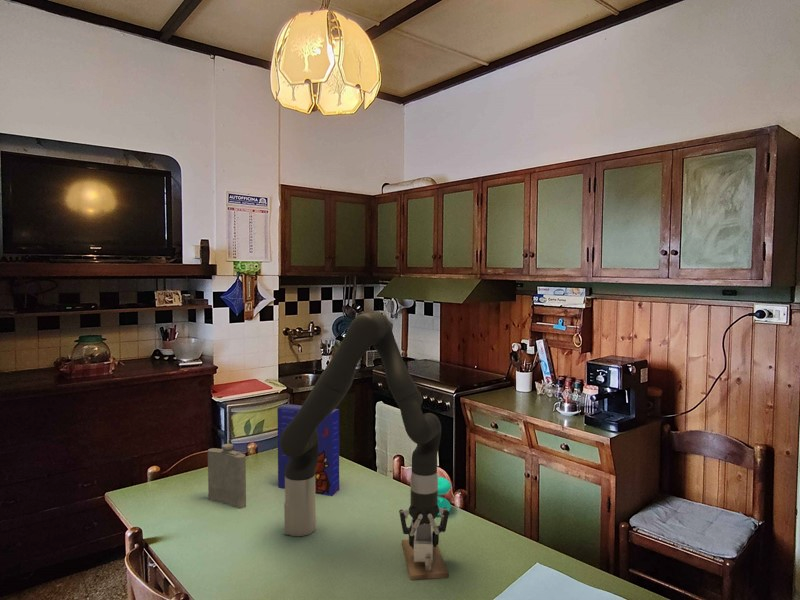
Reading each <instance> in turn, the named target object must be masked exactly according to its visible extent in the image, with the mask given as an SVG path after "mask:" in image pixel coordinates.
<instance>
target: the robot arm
mask: <svg viewBox="0 0 800 600" xmlns="http://www.w3.org/2000/svg"><path fill="white" fill-rule="evenodd" d="M372 346H373V348H374V349H375V350H376V353H378V355H379V357H380V359H381V362H382V364H383V368H384V375H385V379H386V383H387V386H388V389H389V391H390V393H391V395H392V397H393V399H394V401H395V403H396V404H397V406H398V408H399V411H400V417H401V419H402V423H403V425H404V429H405V430H404V431H405V432H406V434H407V436H408V437H409V439H410V440H411V441H412V442H413V443H414V444H416V447H415V449H414V450H413V451H412V455H411V474H410V484H409V486H410V501H409V502H410V506H409V508H408V509H406V510H404V509H402V508H401V509H399V511H398V514H399V519H400V523H401V529H402V533H403V534H404V535H408V539H409V545H410V547H412V549H414V535H415V531H416V529H417V528H418V526H419V525H422V524H430V523H431V525H432V527H433V547H436V545H438V546H439V543H440V540H439V539H440V538H439V537H440V536H439V535H440V533H445V532H446V530H447V524H448V520H449V515H450V511H449V512H448V509H447V508H446V507H444V508H439V507H438V496H439V495H438V477H439V476H438V453H439V449H440V443H441V438H442V424H441V420H440V419H439V417H438V416H437V415H436V414H434V413H431V412H427V413H423V410H422V407H421V406H422V405H423V401H424V399H423V396H422V394H421V392H420V390H419V389H418V387H417V384H416V383H415V381H414V379H413V378H412V376H411V374H410V372H409V369H408V367H407V365H406V363H405V361H404V359H403V356H402V354H401V352H400V349H399V346H398V344H397V341H396V339H395V335H394V332H393V330H392V327H391V324H390V322H389V320H388V318H387V317H386V316H385V315H384V314H383V313H380V312H363V313H361V314H358V315H357V316H355V318H354V319H352V321H351V323H350V325H349V327H348V329H347V331H346V333H345V335H344V337H343V338H342V341H341V342H340V345H339V347H338V348H337V350H336V352H335V353H334V354H333V356H332V358H330V361H329V362H328V364H327V365H326V367H325V369H324V370H323V371H322V373H321V375H319V377H318V379H317V381H316V382H315V383H314V385H313V387H312V389H311V390H310V392H309V394H308V396H307V397H306V399H305V400H304V402H303V404H302V405H301V406H302V407H301V409H300V411H299V412H298V413H297V415H296V416H295V417H294V419H293V420H292V421H291V422H290V424H289V425H288V426H287V427H286V428H285V430H284V431H283V432H282V434H281V437H280V449H281V451H282V453H283V454H284V455H286V456H288V457H291V458H290V460H289V462H288V463H287V465H286V467H285V489H284V503H283V504H284V506H283V507H284V509H283V515H284V516H283V517H284V523H283V525H284V529H283V530H284V535H285V536H287V535H289V536H292V537H304V536H309V535H310V534H312V533H313V532H315V531H316V527H317V526H316V524H317V523H316V522H317V520H316V519H317V517H316V516H317V515H316V514H317V513H316V505H317V504H316V494H315V470H316V466H317V463H318V447H319V438H318V432H317V429H316V428H317V427H318V425H319V424H320V423H321V422H322V421H323V420H324V419H325V418H326V417H327V416H328V415H329V414H330V413H331V412H332V411H333V410H334V409H337V407H338V406H339V405H340V403H341V402H342V400H343V399H344V397H345V396H346V394H347V393H348V391H349V390H350V388H351V386H352V384H353V381H354V379H355V378H354V377H355V374H356V370H357V366H358V364H359V362H360V360H361V358H362V357H363V356H364V355H365V353H366V352H367V351H368V350H369V349H370V348H371V347H372ZM438 513H440V522H439V525H437V522H436V521H435V519H436V518H437V515H438ZM408 516H410V517H411V518H412V519H411V521H410V525H409V527H407V521H406V520H407V519H408Z"/></svg>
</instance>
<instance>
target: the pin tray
mask: <svg viewBox="0 0 800 600" xmlns="http://www.w3.org/2000/svg"><path fill="white" fill-rule="evenodd" d="M401 547H402V551H403V554H404V560H405V563H406V568H407V571H408V576H409V580H410V581H411V580H412V581H415V580H427V579H428V580H430V579H444V578H445V579H446V578H449V572H448V569H447V566H446V563H445V561H444V558H443V555H442V553H441V550H440V547H439V544H438V545H436V547H433V563H432V562H431V558H426V559H425V562H414V549H412V547H410V545H409V538H408V539H401Z"/></svg>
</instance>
